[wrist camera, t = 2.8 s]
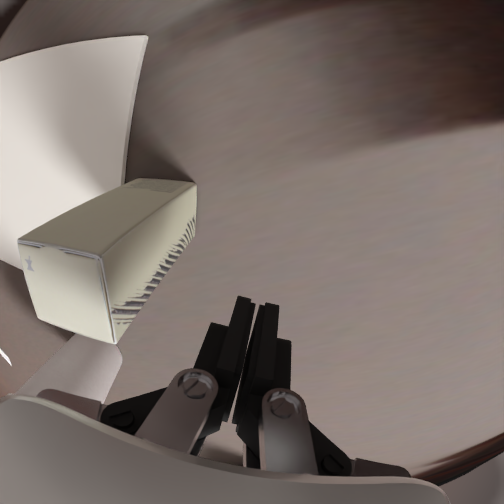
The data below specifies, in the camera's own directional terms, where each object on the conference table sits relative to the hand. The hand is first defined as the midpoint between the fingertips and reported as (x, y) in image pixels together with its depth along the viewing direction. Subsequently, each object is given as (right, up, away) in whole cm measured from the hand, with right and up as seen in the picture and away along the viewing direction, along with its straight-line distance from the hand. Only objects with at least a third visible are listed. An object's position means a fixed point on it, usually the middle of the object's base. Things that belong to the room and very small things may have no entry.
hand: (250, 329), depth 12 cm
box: (-6, +7, +10) cm, 14 cm away
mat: (-20, +11, +10) cm, 25 cm away
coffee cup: (-18, -8, +18) cm, 27 cm away
